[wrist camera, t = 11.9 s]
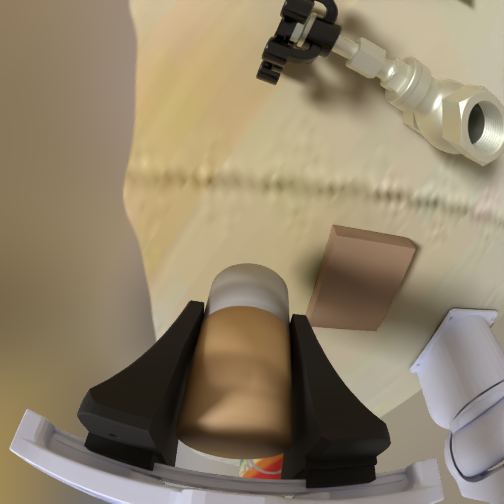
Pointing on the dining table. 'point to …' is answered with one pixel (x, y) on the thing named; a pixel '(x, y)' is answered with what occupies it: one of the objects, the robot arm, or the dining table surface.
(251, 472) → the lotion bottle
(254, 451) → the marker peg
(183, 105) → the dining table surface
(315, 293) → the blocks
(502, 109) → the valve
